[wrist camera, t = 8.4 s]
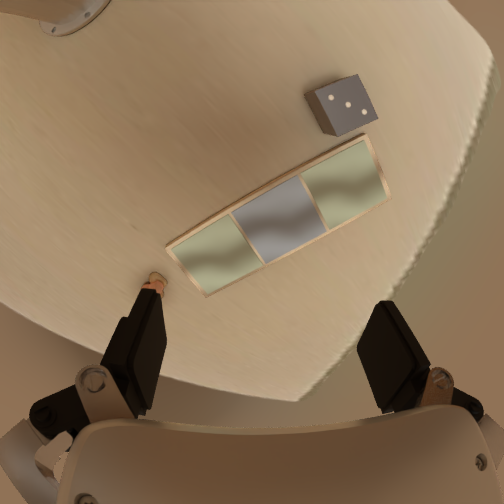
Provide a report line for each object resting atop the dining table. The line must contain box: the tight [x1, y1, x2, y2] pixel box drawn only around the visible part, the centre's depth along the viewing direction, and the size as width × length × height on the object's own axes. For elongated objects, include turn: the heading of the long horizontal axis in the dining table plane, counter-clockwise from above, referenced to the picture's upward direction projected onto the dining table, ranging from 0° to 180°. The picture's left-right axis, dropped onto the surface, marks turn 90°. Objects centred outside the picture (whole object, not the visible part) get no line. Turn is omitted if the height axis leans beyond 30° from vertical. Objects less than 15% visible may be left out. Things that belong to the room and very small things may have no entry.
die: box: [304, 74, 378, 137], centre depth 24 cm, size 5×5×5 cm
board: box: [165, 133, 392, 298], centre depth 32 cm, size 9×28×1 cm, turn 121°
